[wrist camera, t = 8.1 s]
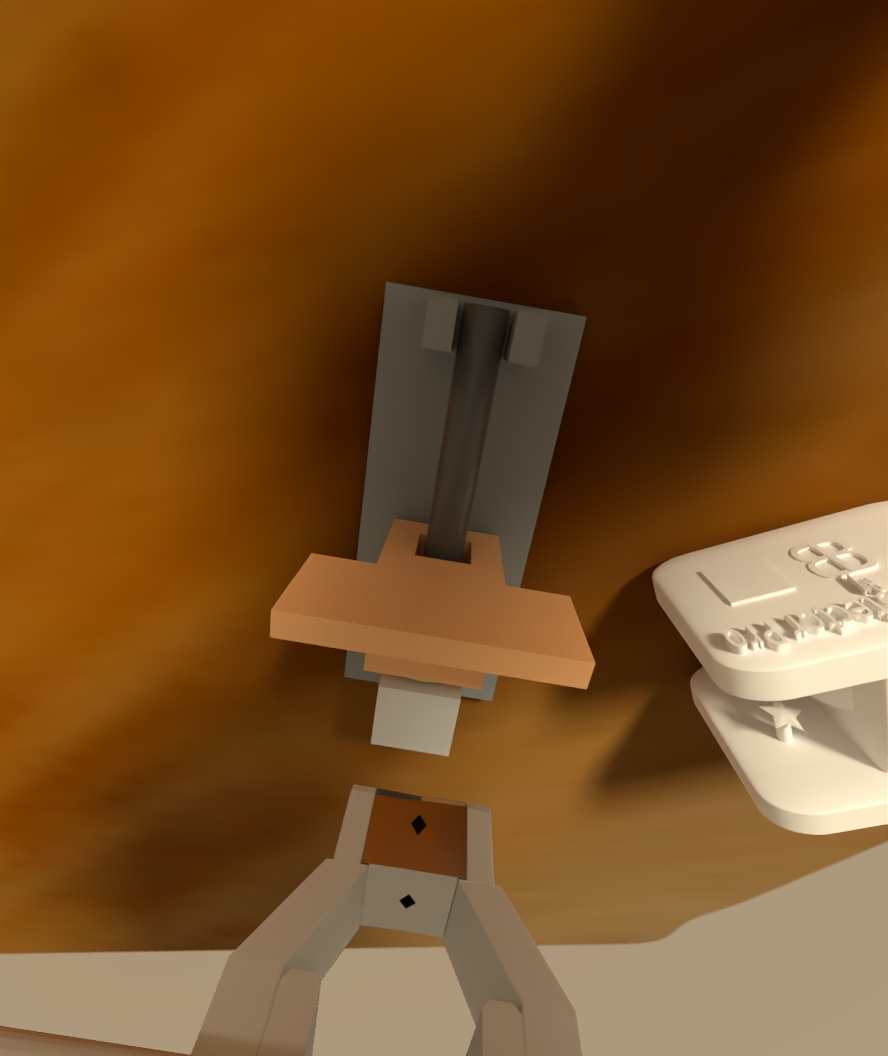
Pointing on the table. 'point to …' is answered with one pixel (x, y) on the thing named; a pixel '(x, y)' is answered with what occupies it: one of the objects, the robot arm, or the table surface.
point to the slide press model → (458, 457)
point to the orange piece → (435, 615)
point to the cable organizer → (794, 663)
